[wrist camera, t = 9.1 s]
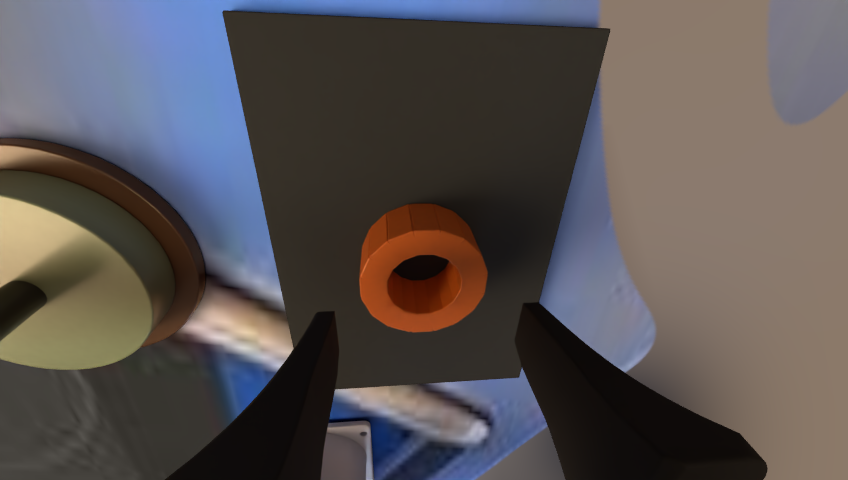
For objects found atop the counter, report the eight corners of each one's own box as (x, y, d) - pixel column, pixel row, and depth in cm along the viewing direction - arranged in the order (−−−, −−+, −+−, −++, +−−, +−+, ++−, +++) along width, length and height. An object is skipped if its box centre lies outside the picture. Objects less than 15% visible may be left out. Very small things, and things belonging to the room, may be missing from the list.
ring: (468, 295, 19) (479, 329, 17) (365, 299, 19) (362, 335, 17) (480, 202, 17) (495, 229, 14) (359, 203, 16) (355, 231, 14)
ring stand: (229, 335, 20) (169, 456, 14) (10, 345, 19) (-149, 481, 13) (164, 138, 14) (23, 210, 9) (-155, 136, 13) (-555, 216, 8)
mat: (516, 370, 24) (519, 377, 24) (304, 383, 23) (302, 391, 22) (603, 28, 14) (611, 28, 13) (228, 10, 12) (221, 10, 12)
